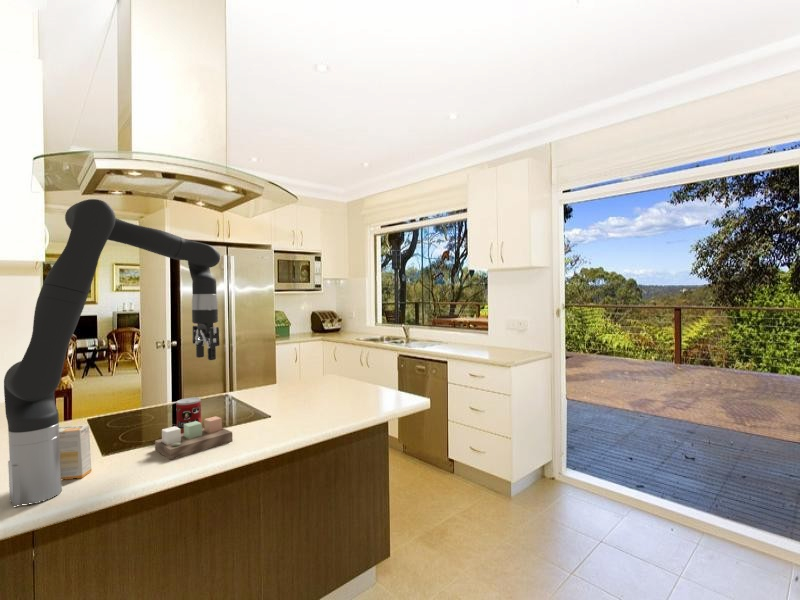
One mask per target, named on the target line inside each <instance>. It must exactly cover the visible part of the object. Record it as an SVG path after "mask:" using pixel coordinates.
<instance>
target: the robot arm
mask: <svg viewBox="0 0 800 600" xmlns="http://www.w3.org/2000/svg"><path fill="white" fill-rule="evenodd" d="M64 220H65V223H66V225H67V226H68V228H69V229H70V233H69V237H68V240H67V243H66V245H65V247H64V249H63V250H62V252H61V254H60V255H59V256H58V258H57V260H56V261H55V262H54V264H53V265H52V267H51V268H50V270H49V271H48V274H47V275H46V277H45V279H44V281H43V284H42V286H41V287H40V291H39V294H38V297H37V299H36V304H35V307H34V315H33V323H32V332H31V338H30V341H29V344H28V346H27V348H26V351H25V353H24V355H23V357H22V359H21V360H20V361H18V362H16V363H14V364H13V365H11V366H10V367H9V368H8V370H7V371H6V373H5V375H4V379H3V394H4V395H3V396H4V407H5V409H4V411H5V417H6V421H7V428H8V429H7V431H8V433H7V434H8V454H9V460H8V462H7V463H8V464H7V466H8V487H9V490H8V491H9V501H10V500H11V501H10V502H12V503H11V505H12V504H13V505H12V507H13V506H17V505H22V504H29V503H35V502H39V501H43V500H46V499H48V500H50V499H49V498H51V499H53V498H54V496H55V497H56V495H57V496H58V495H59V494H60V493H62V490H63V486H62V482H63V480H61V459H60V436H59V427H60V418H59V417H60V414H59V410H58V408H57V405H56V397H55V391H56V390H57V388H58V386H60V383H61V379H62V373H63V369H64V364H65V360H66V357H67V352H68V348H69V345H70V342H71V339H72V337H73V336H74V333H75V330H76V328H77V326H78V323H79V320H80V317H81V315H82V313H83V310H84V308H85V305H86V302H87V299H88V296H89V292H90V290H91V287H92V283H93V280H94V277H95V274H96V270H97V267H98V263H99V261H100V260H99V259H100V257H101V254H102V252H103V249H104V247H105V246H106V244H107V242H108V241H112V242H116V243H120V244H124V245H128V246H132V247H136V248H139V249H141V250H145V251H147V252H150V253H154V254H157V255H159V256H163V257H167V258H168V259H173V260H177V261H187V265H188V270H189V274H190V278H191V280H192V286H191V287H192V291H191V292H192V294H191V295H192V298H191V322H192V324H196V325H192V345H193V344H194V346H195V348H196V349H195V351H196V352H195V355H196V358H198V359H199V358H204V357H205V346H204V345H205V344H206V347H207V360H208V361H215V360H216V355H217V352H216V350H217V347H219V346H220V329H219V326H214V324H216V323H218V322H219V313H218V312H219V309H218V308H219V307H218V305H219V304H218V303H219V302H218V296H217V279H216V278H215V276H213V275H212V273H211V269H210V268H214V267H216V266H217V265H218V264H219V262H221V261H220V260H221V254H220V252H219V251H218V249H217V248H216V247H214V246H212V245H210V244H207V243H204V242H199V241H195V240H189V239H187V238H183V237H181V236H179V235H176V234H173V233H170V232H167V231H165V230H160V229H158V228H157V229H156V228H152V227H147V226H144V225H143V226H142V225H138V224H134V223H131V222H128V221H124V220H122V219H120V218H117V217H116V213H115V211H114V209H113V208H112V207H111V205H110V204H108V202H106V201H104V200H102V199H97V198H96V199H95V198H90V199H89V198H88V199H85V200H82V201H79V202H76V203H74V204H73V205H71V206H70V207H69V208H68V209H67V210H66V212H65V215H64ZM52 497H53V498H52ZM46 501H47V500H46ZM43 502H44V501H43ZM39 503H40V502H39Z"/></svg>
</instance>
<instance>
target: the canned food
mask: <svg viewBox="0 0 800 600" xmlns="http://www.w3.org/2000/svg"><path fill="white" fill-rule="evenodd" d="M201 402H202V401H201V398H200V397H186V398H181V399H179V400H177V401H176V408H175V409H176V427H178V428H180V429H181V434H182V433H184V424H186V423H190V422H194V421H198V422H200V423H202V403H201Z"/></svg>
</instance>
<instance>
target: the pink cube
mask: <svg viewBox="0 0 800 600" xmlns="http://www.w3.org/2000/svg"><path fill="white" fill-rule="evenodd" d="M203 422H204V423H203V424H204V425H203V426H204V427H203V428H204V431H205V432H208V433H213V432H217V431H220V430H222V428H223V420H222V417H219V416H216V415H215V416H212V417H208V418H207V417H206V418H204V419H203Z"/></svg>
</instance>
